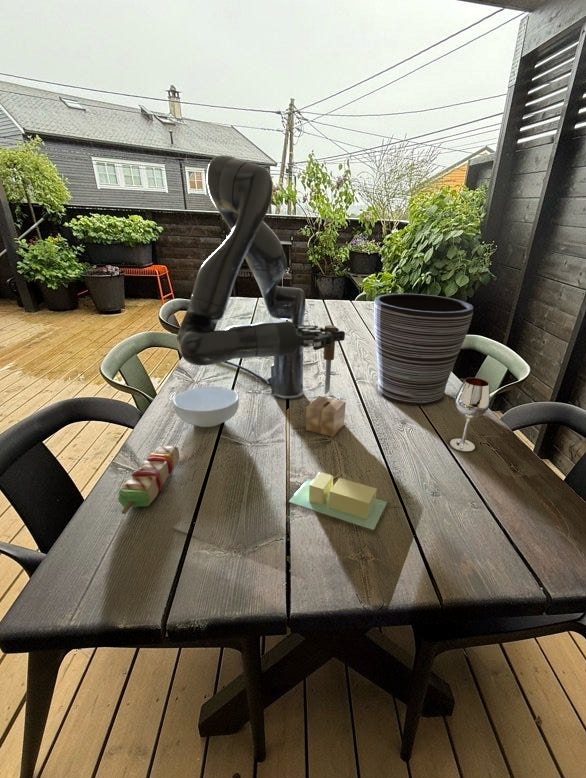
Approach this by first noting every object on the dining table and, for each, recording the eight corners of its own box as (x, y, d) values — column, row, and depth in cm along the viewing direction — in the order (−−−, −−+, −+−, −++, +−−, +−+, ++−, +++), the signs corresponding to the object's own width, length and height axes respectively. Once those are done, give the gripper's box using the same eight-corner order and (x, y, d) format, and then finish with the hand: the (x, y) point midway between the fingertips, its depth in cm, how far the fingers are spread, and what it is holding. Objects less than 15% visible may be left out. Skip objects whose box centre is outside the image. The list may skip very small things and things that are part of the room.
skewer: (156, 460, 91) (153, 441, 89) (184, 462, 91) (182, 443, 89) (107, 522, 73) (101, 500, 71) (142, 524, 73) (138, 502, 71)
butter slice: (308, 501, 80) (309, 484, 78) (319, 487, 84) (320, 471, 82) (322, 505, 79) (323, 489, 77) (332, 491, 83) (333, 475, 81)
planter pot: (450, 418, 119) (471, 317, 105) (354, 399, 127) (362, 304, 114) (458, 384, 144) (476, 300, 131) (378, 370, 153) (387, 290, 139)
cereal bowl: (252, 416, 114) (251, 393, 110) (212, 441, 100) (210, 416, 97) (205, 403, 120) (202, 381, 117) (162, 425, 106) (158, 401, 103)
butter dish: (288, 504, 80) (288, 485, 78) (308, 481, 87) (308, 462, 85) (373, 533, 74) (375, 512, 72) (387, 504, 81) (389, 485, 79)
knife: (320, 393, 101) (323, 326, 94) (324, 389, 103) (327, 324, 96) (329, 395, 100) (333, 328, 93) (333, 391, 102) (337, 326, 95)
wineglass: (478, 441, 107) (494, 379, 99) (478, 456, 100) (494, 390, 92) (447, 435, 109) (460, 373, 101) (445, 449, 102) (458, 384, 94)
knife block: (305, 429, 108) (306, 406, 105) (318, 418, 115) (319, 396, 111) (332, 436, 105) (334, 413, 102) (344, 424, 112) (345, 401, 109)
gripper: (283, 330, 82) (356, 325, 89) (262, 315, 93) (329, 312, 100) (283, 365, 85) (353, 357, 93) (263, 346, 96) (327, 341, 104)
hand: (340, 333), depth 96 cm, fingers closed on knife, 2 cm apart
